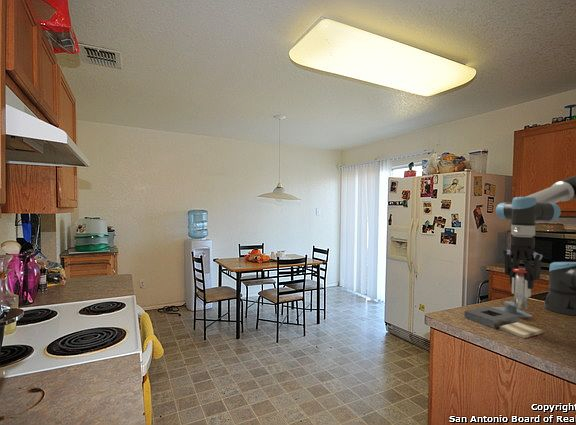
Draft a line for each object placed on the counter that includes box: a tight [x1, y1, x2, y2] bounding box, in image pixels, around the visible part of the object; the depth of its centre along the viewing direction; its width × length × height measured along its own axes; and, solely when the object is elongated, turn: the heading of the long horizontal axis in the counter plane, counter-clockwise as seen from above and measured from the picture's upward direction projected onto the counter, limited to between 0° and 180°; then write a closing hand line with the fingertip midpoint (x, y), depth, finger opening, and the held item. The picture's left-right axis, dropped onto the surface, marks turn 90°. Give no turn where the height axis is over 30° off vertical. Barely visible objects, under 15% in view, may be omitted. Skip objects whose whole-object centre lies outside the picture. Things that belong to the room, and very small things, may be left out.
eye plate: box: [464, 306, 520, 329], centre depth 134 cm, size 16×13×3 cm
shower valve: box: [491, 300, 533, 318], centre depth 142 cm, size 12×6×15 cm
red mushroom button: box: [512, 267, 528, 310], centre depth 122 cm, size 6×6×15 cm
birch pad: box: [498, 321, 544, 339], centre depth 122 cm, size 12×9×1 cm
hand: (521, 294), depth 122 cm, fingers closed on red mushroom button, 4 cm apart
